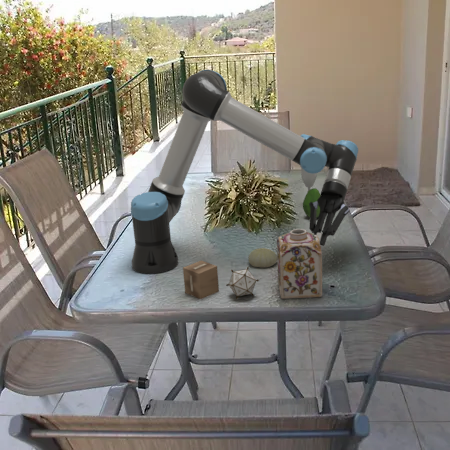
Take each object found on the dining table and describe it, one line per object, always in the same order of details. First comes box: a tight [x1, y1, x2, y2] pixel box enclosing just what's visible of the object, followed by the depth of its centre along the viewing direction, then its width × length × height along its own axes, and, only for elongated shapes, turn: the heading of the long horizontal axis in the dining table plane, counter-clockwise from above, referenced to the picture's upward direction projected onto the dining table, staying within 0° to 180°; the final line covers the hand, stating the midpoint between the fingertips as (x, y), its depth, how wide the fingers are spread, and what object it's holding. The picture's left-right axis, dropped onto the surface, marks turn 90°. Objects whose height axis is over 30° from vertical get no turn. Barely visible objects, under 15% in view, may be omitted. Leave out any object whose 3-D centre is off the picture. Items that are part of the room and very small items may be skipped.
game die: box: [225, 266, 260, 300], centre depth 166 cm, size 9×8×10 cm
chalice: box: [299, 165, 318, 192], centre depth 241 cm, size 7×7×18 cm
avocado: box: [302, 187, 321, 219], centre depth 229 cm, size 8×8×12 cm
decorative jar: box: [276, 228, 323, 300], centre depth 165 cm, size 12×12×18 cm
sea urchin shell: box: [248, 247, 277, 269], centre depth 188 cm, size 9×8×8 cm
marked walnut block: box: [182, 260, 220, 300], centre depth 170 cm, size 7×7×8 cm
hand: (314, 253), depth 175 cm, fingers closed
